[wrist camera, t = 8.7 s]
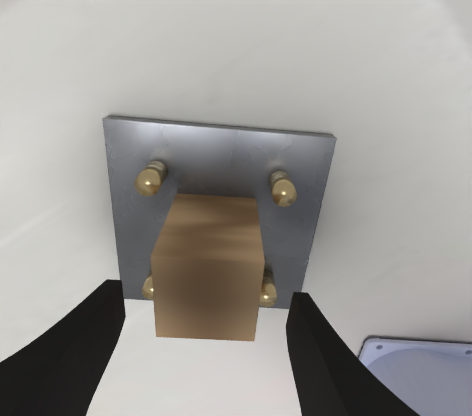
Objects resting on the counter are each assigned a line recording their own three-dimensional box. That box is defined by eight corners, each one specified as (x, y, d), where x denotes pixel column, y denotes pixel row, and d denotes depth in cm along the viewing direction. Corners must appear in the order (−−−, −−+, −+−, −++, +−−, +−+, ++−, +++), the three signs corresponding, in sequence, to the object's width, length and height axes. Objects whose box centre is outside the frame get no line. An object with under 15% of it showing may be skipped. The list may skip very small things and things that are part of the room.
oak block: (256, 198, 18) (264, 262, 12) (249, 262, 20) (254, 341, 14) (176, 193, 17) (150, 255, 12) (178, 258, 19) (156, 336, 14)
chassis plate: (332, 134, 17) (349, 149, 14) (294, 301, 22) (302, 332, 20) (108, 115, 16) (85, 127, 14) (126, 290, 22) (111, 321, 19)
